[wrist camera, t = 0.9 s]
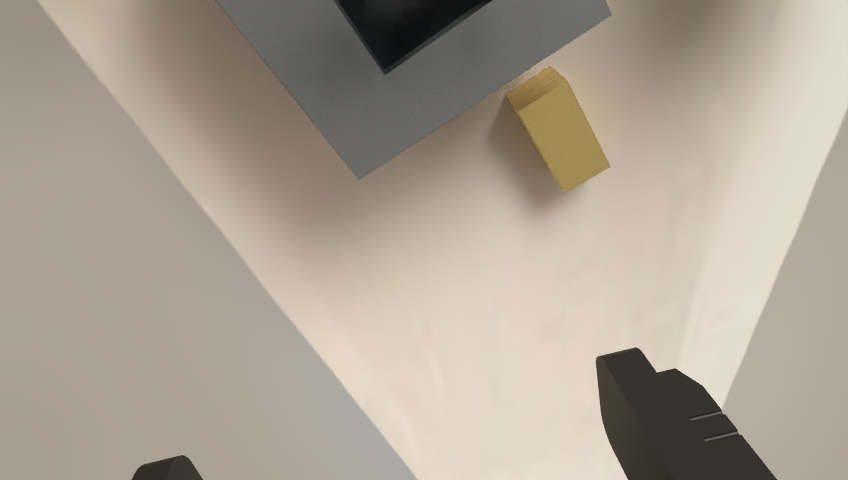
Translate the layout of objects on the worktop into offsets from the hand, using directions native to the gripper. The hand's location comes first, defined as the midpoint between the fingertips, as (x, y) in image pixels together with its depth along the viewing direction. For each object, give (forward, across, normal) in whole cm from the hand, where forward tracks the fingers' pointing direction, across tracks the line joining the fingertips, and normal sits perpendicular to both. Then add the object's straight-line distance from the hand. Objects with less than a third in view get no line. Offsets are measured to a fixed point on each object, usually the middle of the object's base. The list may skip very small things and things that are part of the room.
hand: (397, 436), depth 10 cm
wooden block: (+24, -10, +3) cm, 27 cm away
